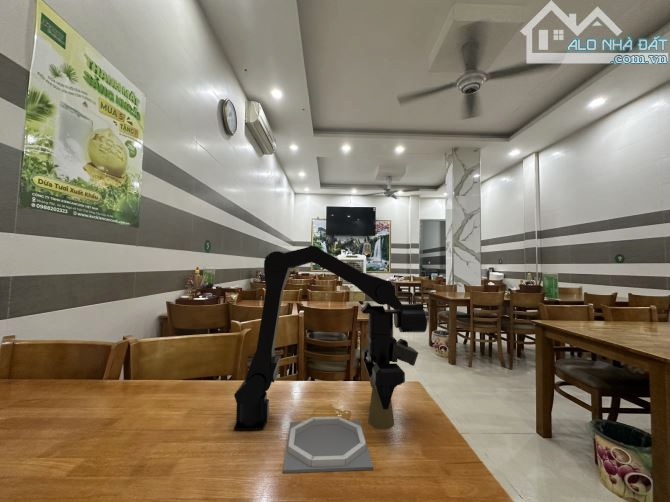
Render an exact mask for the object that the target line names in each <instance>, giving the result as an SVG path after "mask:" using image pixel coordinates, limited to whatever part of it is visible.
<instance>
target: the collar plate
mask: <svg viewBox="0 0 670 502" xmlns="http://www.w3.org/2000/svg"><path fill="white" fill-rule="evenodd" d="M289 424H290V425H289V428H288V429H289V430H288V434H287V435H288V437H287V443H286V449H285V455H284V460H283V466H282V474H295V473H296V474H299V473H318V472H319V473H321V472H323V473H325V472H343V471H344V472H345V471H348V472H349V471H352V472H353V471H372V470H374V464H373V461H372V457H371V454H370V450H369V448H368V447H369V446H368V443H367V441H366V437H365V433H364V430H363V426H362V423H361V420H360V419H357V420H356V419H354V420H352V419H351V420H350V419H349V420H347V419H346V418H344V417H341V416H316V417H315V416H312V417H309V418H308V419H306V420H304V421H291V422H290V423H289Z"/></svg>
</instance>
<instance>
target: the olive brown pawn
mask: <svg viewBox="0 0 670 502" xmlns="http://www.w3.org/2000/svg"><path fill="white" fill-rule="evenodd" d="M369 383H370V387H371V394H370V402H369V403H370V404H369V412H368V419H367V421H368V424H369V426H371V427H373V428H376V429H380V430H387V429H391V428H393V427H394V425H395V419H394V410H393V404H392V403H393V402H392V400H391V401H390V404H389V408H388V409H385V410H384V409H383V407H382V404H381V402H380V399H379V396H378V393H377V390H376V387H375V384H374V381H373V374H372V375H371V377H369Z"/></svg>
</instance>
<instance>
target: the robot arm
mask: <svg viewBox="0 0 670 502" xmlns="http://www.w3.org/2000/svg"><path fill="white" fill-rule="evenodd" d="M310 263H313V264H315V265H317V266H319V267H321V268H322V269H325V270H326V271H327V272H330V273H332V274H333V275H335V276H337V277H338V278H341V279H342V280H345V281H346V282H348V283H350V284H351V285H353V286H354V287H356V288H357V289H358V290H360V291H361V292H362V293H363V294H364V295H366V297H368V298H369V299H370V300H372V301H373V302H374V303H376V304H379V305H372V304H371V303H369V302H368V301H367V302H366V303H365V305H364V306H363V307H362V308H360V312H361V313H362V314H363V315H364V314H365V315H368V333H367V334H366V335H367V337H366V338H367V340H368V345H365V346H364V347H363V348H362V350H361V357H362V358H363V359H362V361H363V364H364V366H365V369H366V371H367V375H368V377H369V378H370V377H371V375H372V374H373V381H374V384H375V387H376V390H377V393H378V396H379V399H380V402H381V404H382V407H383V409H384V410H385V409H388V408H389V404H390V401H391V402H392V398H393V394H394V391H395V388H396V387H398V386H401V385H402V384H404V383H405V382H406V373H405V371H404V370H403V369H402V368H401V367H400V366H399V364H398V361H402V362H404V363H407V364H409V365H410V366H413V367H414V366H415V365H416V361H417V358H418V355H419V352H418V351H417V350H415V348H413V347H412V346H409V343H408V341H407V340H405V339H403V338H399V339H398V340H397V339H396V338H395V337H394V327H395V329H398V331H399V333H426V331H427V328H428V327H427V326H428V319H427V316H426V312H425V310H424V304H423V303H420V302H414V303H402V302H401V301H400V299H399V298H398V297H397V295H396V289H395V287H394V284H393V283H392V282H390V281H389V280H387V279H384V278H380V277H378V276H376V275H375V276H374V275H373V274H372V275H371V274H368V273H365V272H363V271H362V270H361V271H360V270H358V269H356V268H355V267H353V266H352V265H350V264H348V263H346V262H344V261H343V260H341V259H339V258H338V257H335V256H334V255H332V254H330V253H328V252H326V251H325V250H323V249H321V248H320V247H319V246H317V245H315V244H311V245H309V246H306V247H302V248H298V249H294V250H291V251H287V252H282V251H279V250H277V251H272V252H270V253H268V254H267V255H266V257H265V259H264V261H263V276H264V277H263V280H264V285H265V294H264V300H263V307H262V311H261V319H260V325H259V330H258V331H259V332H258V337H257V343H256V348H255V353H254V354H253V357H252V360H251V362H250V364H249V368H248V371H247V372H246V376H245V379H244V380H243V382H242V383H241V384H240V386H239V387H238V389H237V390H236V391H235V393H234V394H233V395H234V399H235V403H236V409H235V410H236V414H235V417H236V418H235V424H234V426H233V430H234V431H257V430H258V431H260V430H264V428H265V427H266V426H265V425H266V423H267V422H268V420H269V417H270V400H269V398H268V392H267V391H269V390H270V388H271V385H272V383H275V381H276V379H277V377H278V374H279V371H280V370H279V363H280V360H281V355H276V352H275V346H276V339H277V333H278V328H279V327H278V326H279V320H280V314H281V307H282V300H283V294H284V289H285V287H286V285H287V282H288V280H289V277H290V274H291V271H292V269H294V268H297V267H301V266H305V265H307V264H310ZM385 305H387V306H388V307H390V308H392V309H385V307H384V306H385Z"/></svg>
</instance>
